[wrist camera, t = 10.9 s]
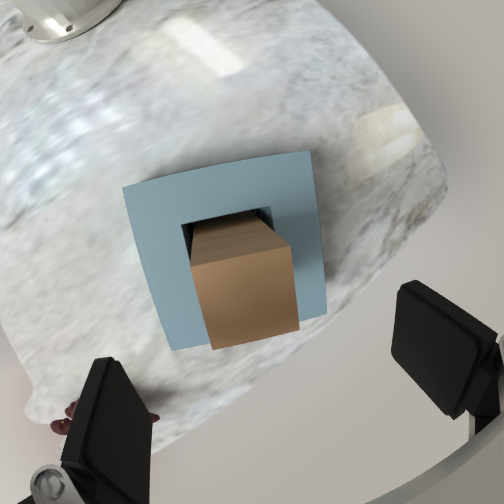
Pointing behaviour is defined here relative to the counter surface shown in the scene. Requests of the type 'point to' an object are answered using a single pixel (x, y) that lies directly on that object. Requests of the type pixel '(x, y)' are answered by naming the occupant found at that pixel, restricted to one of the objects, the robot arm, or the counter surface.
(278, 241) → the walnut peg
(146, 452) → the robot arm
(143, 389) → the counter surface
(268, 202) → the socket block
